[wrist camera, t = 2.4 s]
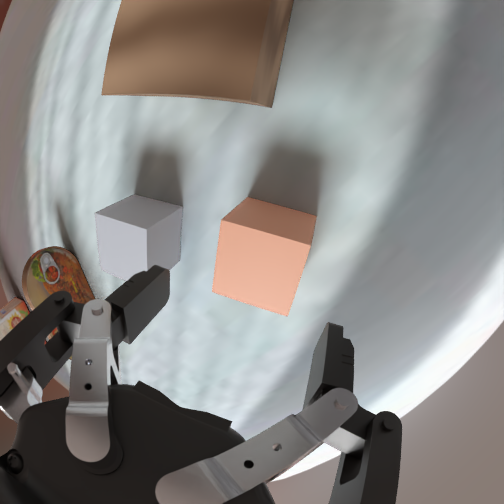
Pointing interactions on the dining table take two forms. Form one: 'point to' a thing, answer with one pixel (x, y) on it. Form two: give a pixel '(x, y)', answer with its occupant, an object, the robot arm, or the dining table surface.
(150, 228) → the grey-blue cube
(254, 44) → the walnut block
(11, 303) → the cracker box
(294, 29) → the dining table surface
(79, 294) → the tin
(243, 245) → the terracotta cube
